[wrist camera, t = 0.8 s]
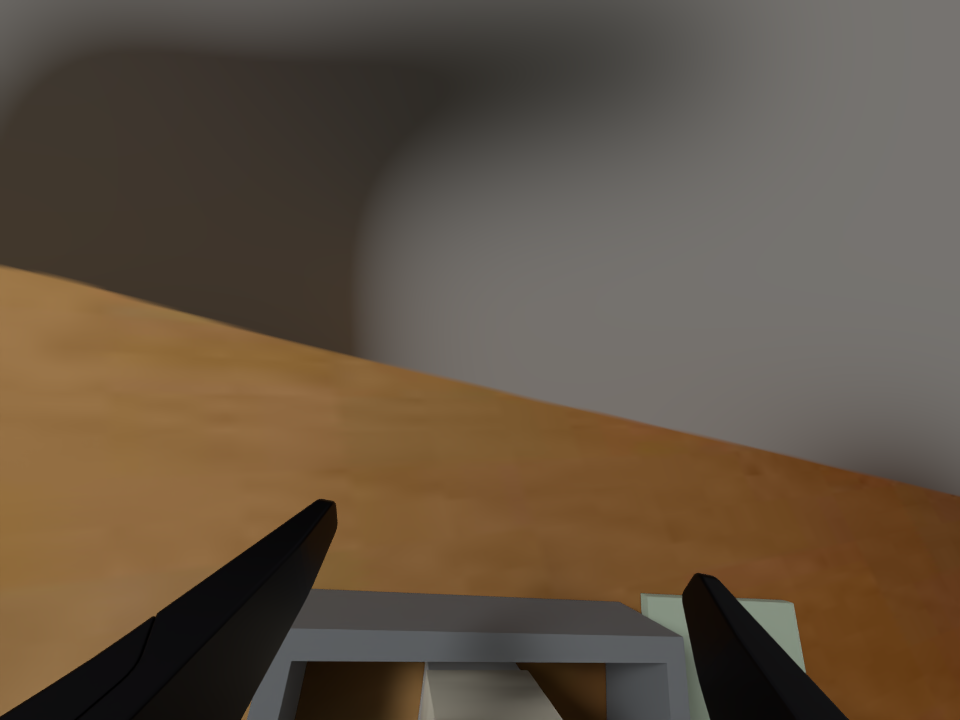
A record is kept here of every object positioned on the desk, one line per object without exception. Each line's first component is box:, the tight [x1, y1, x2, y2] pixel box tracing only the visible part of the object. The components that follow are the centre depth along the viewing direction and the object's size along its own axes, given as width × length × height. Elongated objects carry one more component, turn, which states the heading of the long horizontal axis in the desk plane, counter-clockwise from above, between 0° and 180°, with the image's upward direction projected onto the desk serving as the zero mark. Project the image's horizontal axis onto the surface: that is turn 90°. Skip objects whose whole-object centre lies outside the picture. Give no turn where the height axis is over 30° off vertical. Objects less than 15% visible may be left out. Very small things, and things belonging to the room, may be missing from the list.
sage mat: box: [641, 593, 806, 720], centre depth 20 cm, size 11×11×1 cm
